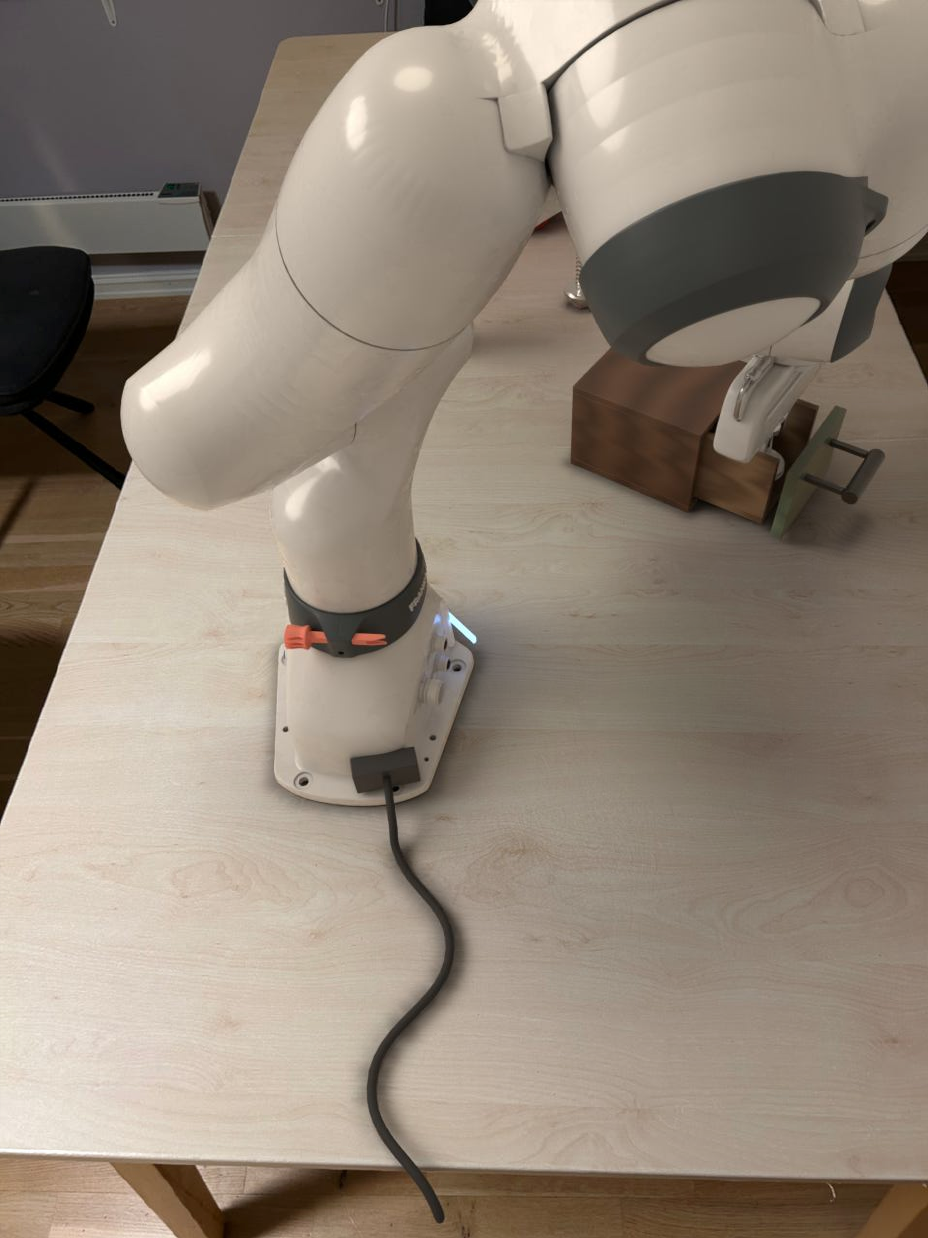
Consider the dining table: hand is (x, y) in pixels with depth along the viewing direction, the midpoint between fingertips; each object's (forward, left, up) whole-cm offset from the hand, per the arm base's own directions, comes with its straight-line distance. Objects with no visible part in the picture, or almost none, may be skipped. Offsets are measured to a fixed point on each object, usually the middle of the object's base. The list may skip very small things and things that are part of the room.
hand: (765, 439), depth 94 cm
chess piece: (0, 0, -4) cm, 4 cm away
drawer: (-1, -1, -6) cm, 7 cm away
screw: (+35, +19, -8) cm, 41 cm away
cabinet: (+6, +10, -7) cm, 14 cm away
